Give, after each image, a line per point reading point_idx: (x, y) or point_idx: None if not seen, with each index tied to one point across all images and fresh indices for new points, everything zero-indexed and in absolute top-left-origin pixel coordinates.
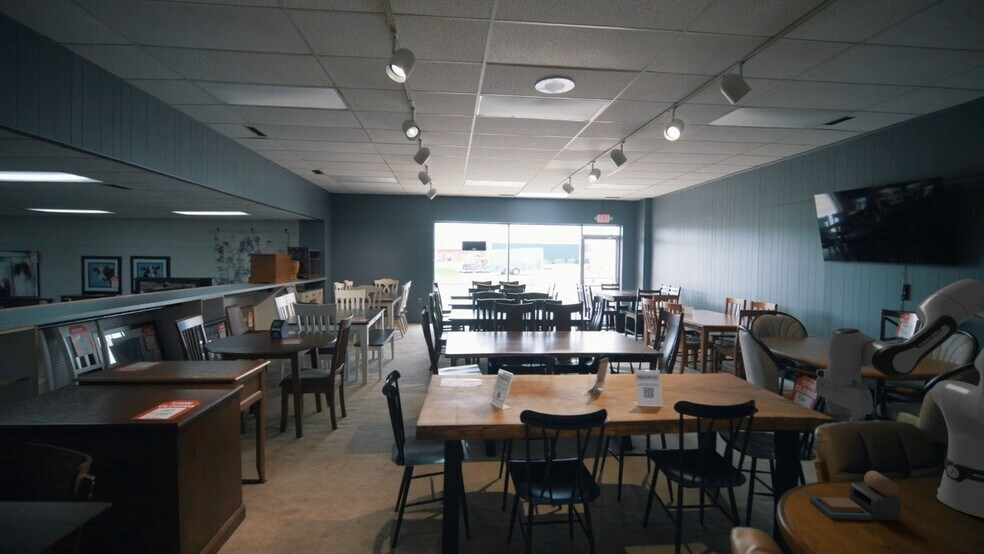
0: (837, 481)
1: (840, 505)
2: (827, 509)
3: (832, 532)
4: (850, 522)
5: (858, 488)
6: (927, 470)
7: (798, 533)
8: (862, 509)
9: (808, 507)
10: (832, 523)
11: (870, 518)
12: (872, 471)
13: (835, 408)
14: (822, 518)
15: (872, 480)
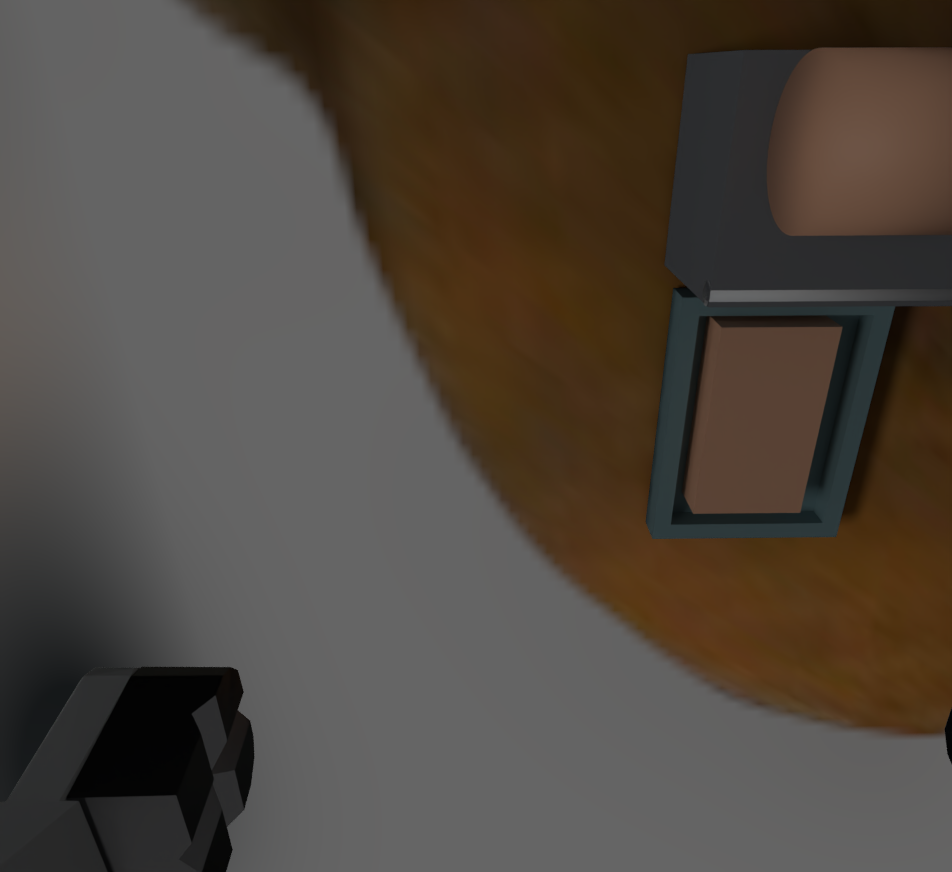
0: (330, 100)
1: (800, 454)
2: (792, 527)
3: (923, 582)
4: (867, 430)
5: (792, 306)
6: None
7: (894, 722)
8: None
9: (696, 558)
10: (856, 533)
11: None
12: (855, 173)
13: (180, 794)
14: (805, 553)
15: (896, 234)
